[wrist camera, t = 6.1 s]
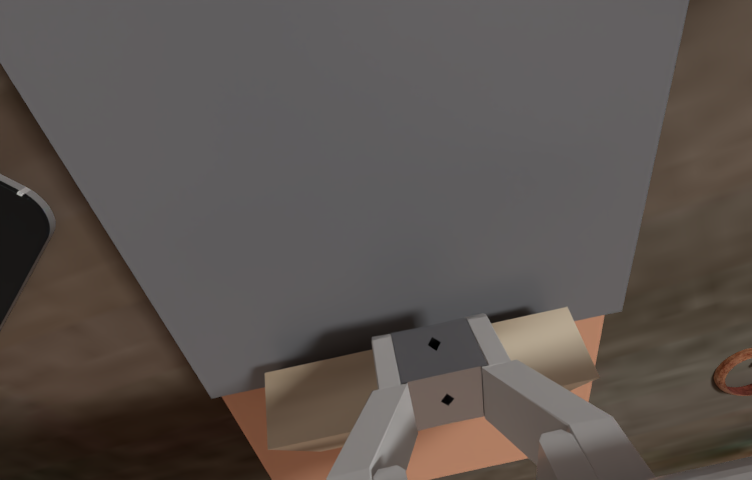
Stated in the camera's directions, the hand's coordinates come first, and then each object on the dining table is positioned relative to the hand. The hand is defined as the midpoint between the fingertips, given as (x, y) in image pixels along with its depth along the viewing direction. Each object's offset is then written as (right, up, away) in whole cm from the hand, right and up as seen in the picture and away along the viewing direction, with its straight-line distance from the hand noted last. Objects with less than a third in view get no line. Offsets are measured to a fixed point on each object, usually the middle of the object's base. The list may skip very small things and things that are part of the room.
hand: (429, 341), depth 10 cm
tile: (0, -2, +4) cm, 4 cm away
